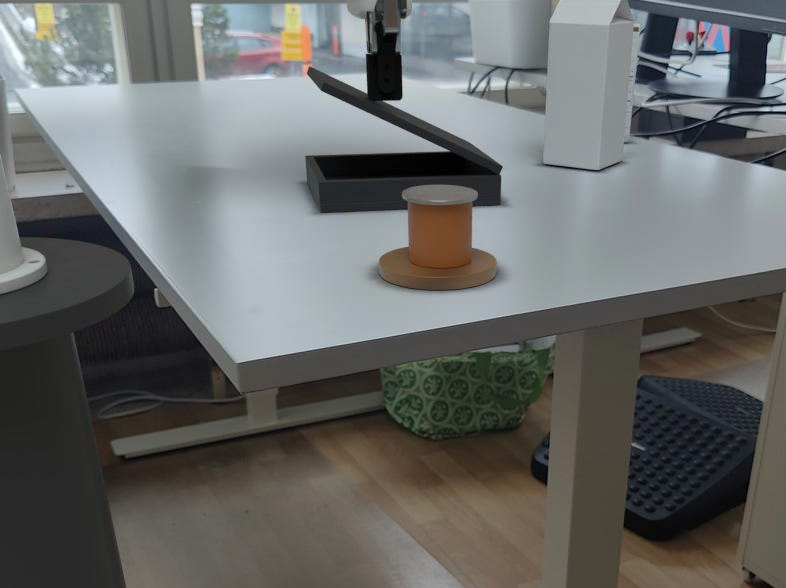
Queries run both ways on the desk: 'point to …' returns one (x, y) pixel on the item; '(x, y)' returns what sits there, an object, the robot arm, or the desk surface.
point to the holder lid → (402, 119)
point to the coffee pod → (440, 225)
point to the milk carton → (587, 83)
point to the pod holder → (393, 179)
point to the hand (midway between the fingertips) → (385, 99)
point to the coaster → (436, 271)
